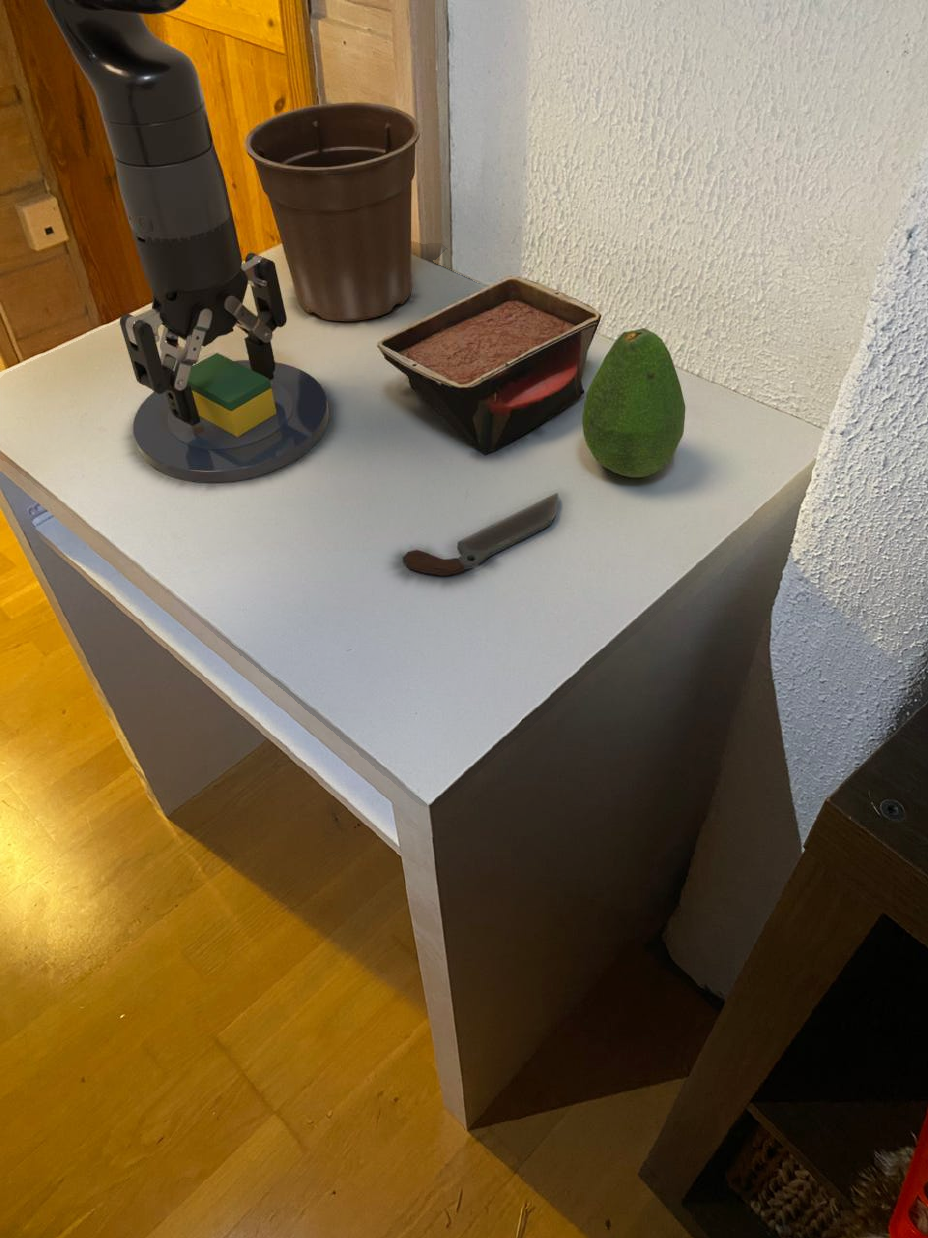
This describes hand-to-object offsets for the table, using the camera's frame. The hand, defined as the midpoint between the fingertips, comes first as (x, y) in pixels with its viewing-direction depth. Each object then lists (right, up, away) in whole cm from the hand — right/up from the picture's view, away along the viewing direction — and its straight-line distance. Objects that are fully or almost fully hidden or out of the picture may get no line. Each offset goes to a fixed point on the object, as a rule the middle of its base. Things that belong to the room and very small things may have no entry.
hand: (227, 399), depth 80 cm
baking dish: (+23, +1, +3) cm, 23 cm away
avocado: (+34, -7, -4) cm, 35 cm away
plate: (0, -2, +2) cm, 3 cm away
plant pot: (+9, +15, +17) cm, 24 cm away
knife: (+23, -13, -10) cm, 28 cm away
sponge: (0, -1, +1) cm, 1 cm away
